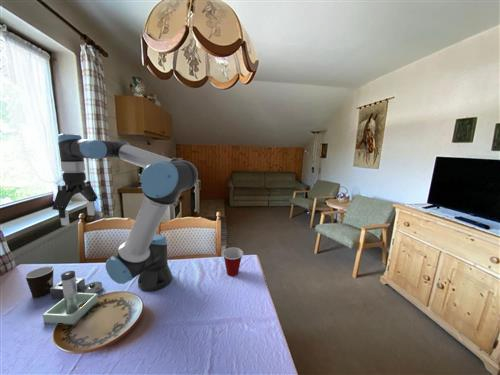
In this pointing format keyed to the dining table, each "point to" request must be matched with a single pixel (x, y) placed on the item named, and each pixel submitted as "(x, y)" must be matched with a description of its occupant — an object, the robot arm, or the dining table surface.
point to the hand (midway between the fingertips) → (79, 219)
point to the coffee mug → (40, 281)
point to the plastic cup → (232, 260)
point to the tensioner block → (58, 289)
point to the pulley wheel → (92, 288)
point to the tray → (59, 313)
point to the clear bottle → (70, 292)
